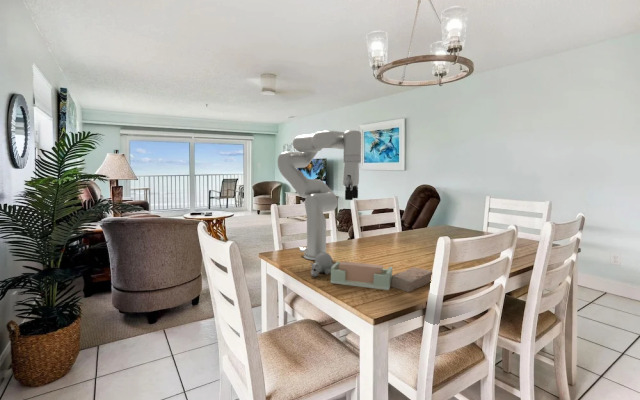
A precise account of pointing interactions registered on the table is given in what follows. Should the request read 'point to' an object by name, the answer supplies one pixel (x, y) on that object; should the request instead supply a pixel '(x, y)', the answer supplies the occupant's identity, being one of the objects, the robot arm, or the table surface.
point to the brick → (411, 279)
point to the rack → (379, 282)
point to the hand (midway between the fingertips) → (351, 199)
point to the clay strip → (360, 271)
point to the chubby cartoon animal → (322, 264)
